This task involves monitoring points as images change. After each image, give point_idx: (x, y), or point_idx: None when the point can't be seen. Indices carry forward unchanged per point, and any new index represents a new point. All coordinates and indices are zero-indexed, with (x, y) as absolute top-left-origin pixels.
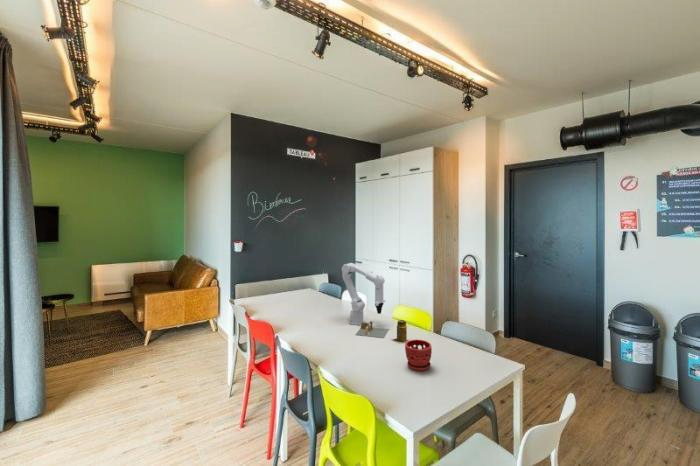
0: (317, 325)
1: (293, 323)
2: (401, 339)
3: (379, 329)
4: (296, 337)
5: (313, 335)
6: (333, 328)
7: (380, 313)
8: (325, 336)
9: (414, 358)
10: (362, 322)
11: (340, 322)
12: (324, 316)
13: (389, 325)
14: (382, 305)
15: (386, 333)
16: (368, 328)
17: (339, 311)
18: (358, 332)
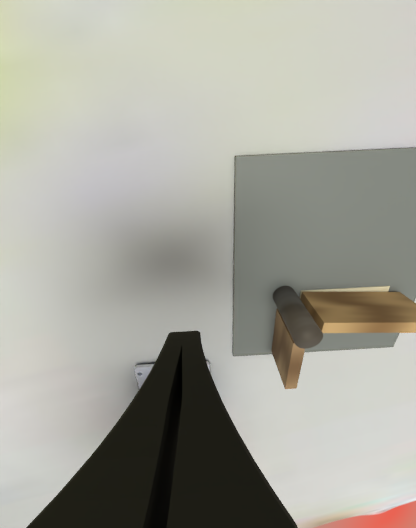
0: (269, 480)
1: None
2: None
3: (271, 238)
4: (407, 480)
5: (388, 458)
6: (294, 438)
7: (199, 334)
8: (402, 430)
9: None
10: (290, 381)
11: None
12: None
13: (117, 179)
14: (185, 513)
15: (364, 150)
16: (384, 312)
17: (41, 485)
18: (353, 342)
